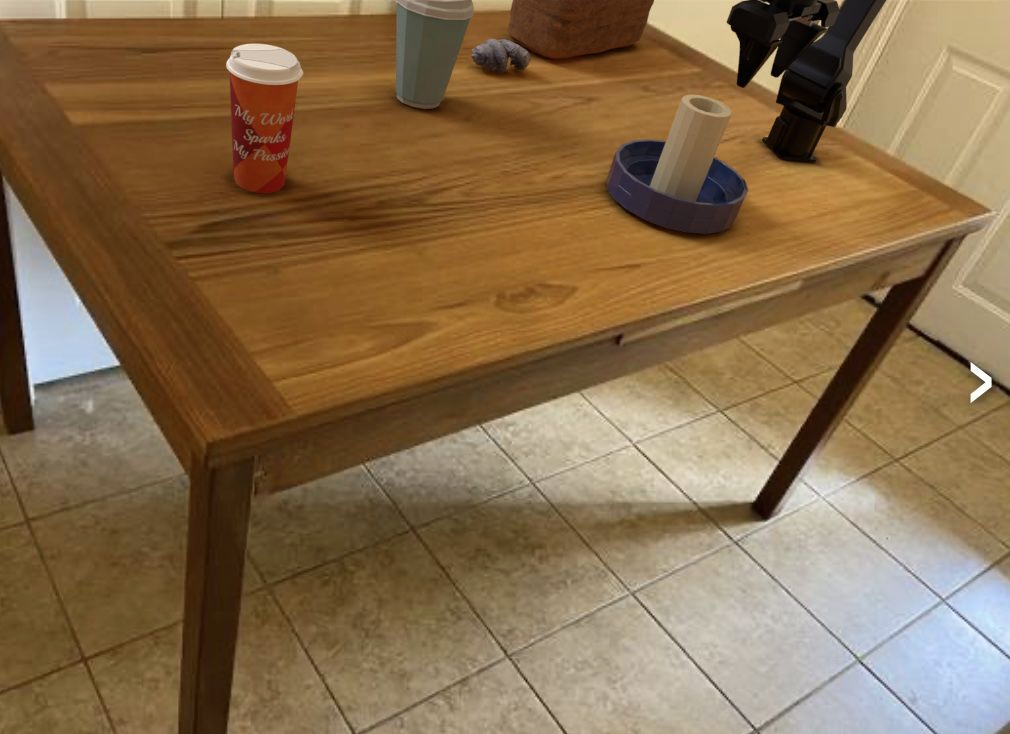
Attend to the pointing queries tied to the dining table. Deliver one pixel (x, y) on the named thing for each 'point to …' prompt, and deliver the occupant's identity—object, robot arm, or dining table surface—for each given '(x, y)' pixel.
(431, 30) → the disposable coffee cup
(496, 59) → the grey croissant
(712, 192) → the bowl
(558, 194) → the dining table surface
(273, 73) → the paper cup
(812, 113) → the robot arm
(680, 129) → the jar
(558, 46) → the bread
